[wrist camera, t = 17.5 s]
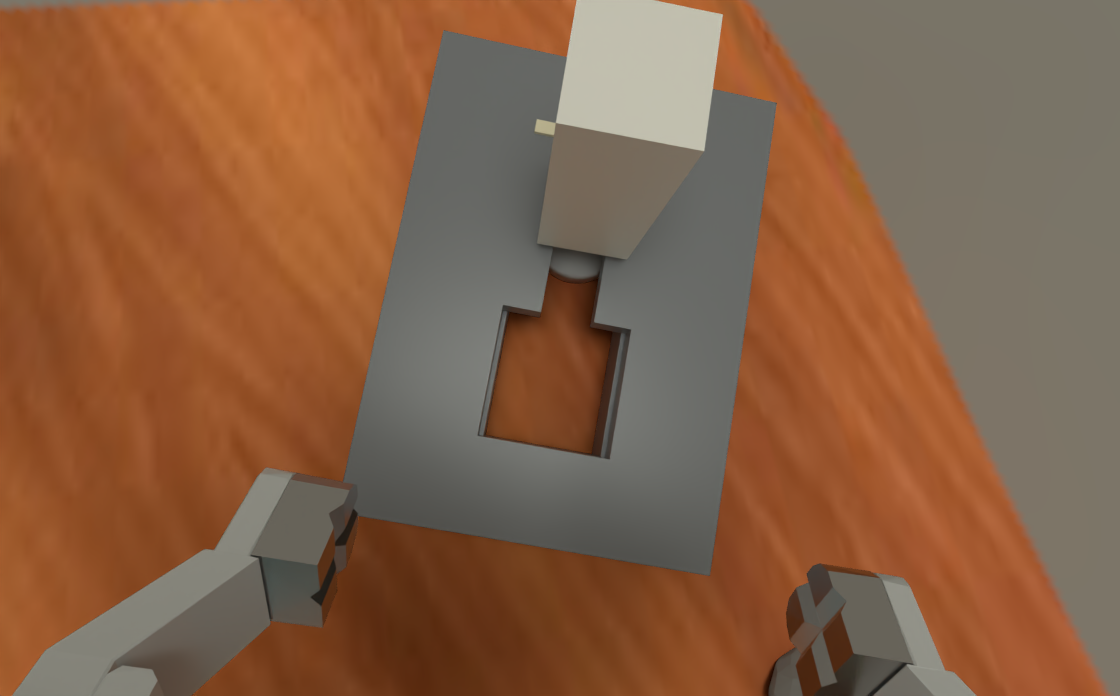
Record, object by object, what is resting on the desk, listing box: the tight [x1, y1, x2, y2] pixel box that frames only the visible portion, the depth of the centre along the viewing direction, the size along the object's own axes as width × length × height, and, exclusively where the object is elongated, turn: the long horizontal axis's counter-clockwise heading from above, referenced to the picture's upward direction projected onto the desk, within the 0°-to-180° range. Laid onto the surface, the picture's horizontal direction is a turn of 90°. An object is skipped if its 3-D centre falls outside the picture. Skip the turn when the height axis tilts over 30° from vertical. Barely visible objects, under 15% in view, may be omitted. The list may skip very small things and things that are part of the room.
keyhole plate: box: [343, 31, 777, 576], centre depth 30 cm, size 22×16×5 cm
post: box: [537, 0, 723, 283], centre depth 25 cm, size 4×4×16 cm
